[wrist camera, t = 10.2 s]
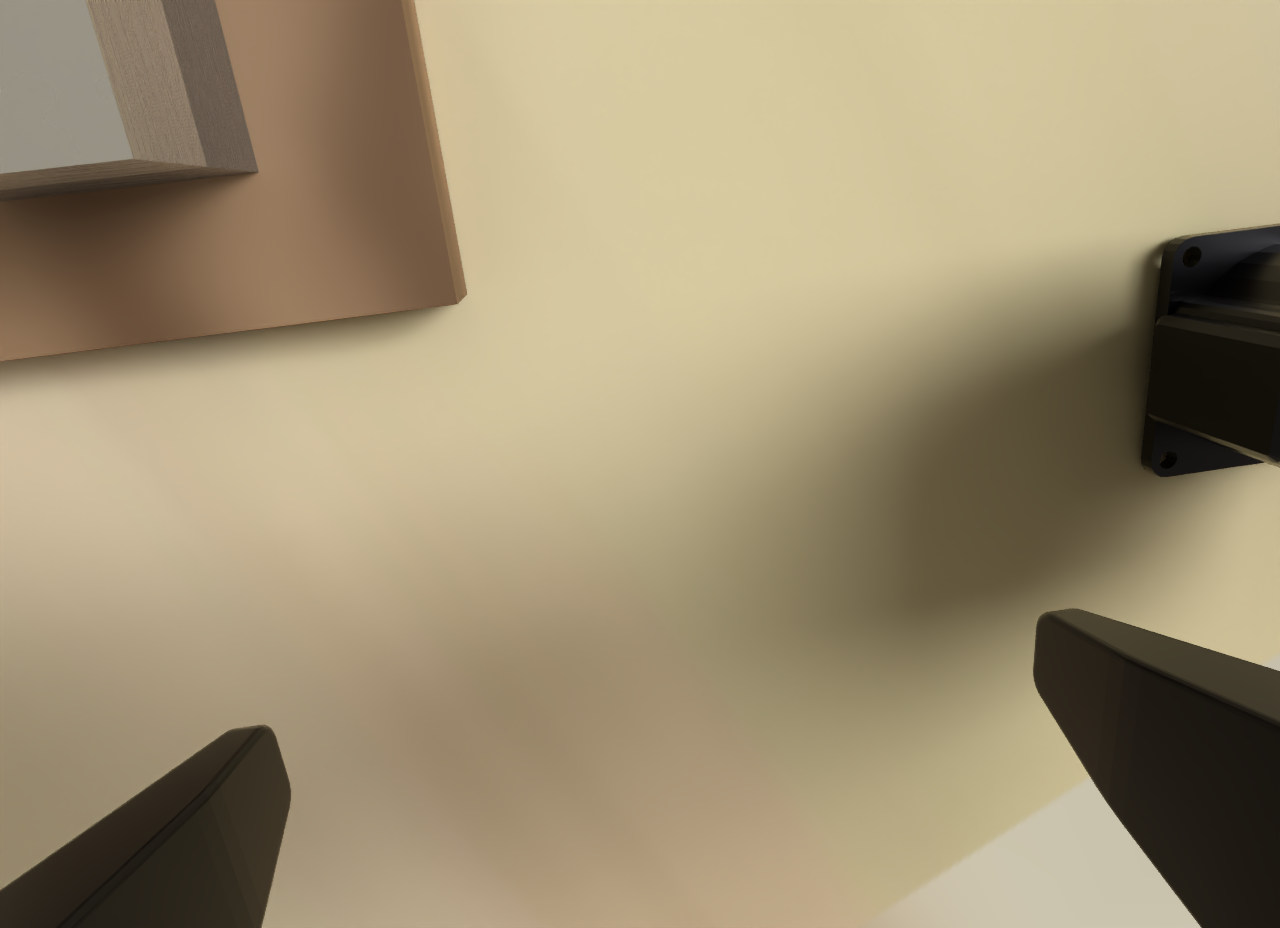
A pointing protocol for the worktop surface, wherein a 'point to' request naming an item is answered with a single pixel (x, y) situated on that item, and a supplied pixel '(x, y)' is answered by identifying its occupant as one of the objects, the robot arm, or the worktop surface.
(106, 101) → the block
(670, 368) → the worktop surface
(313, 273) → the walnut stand
